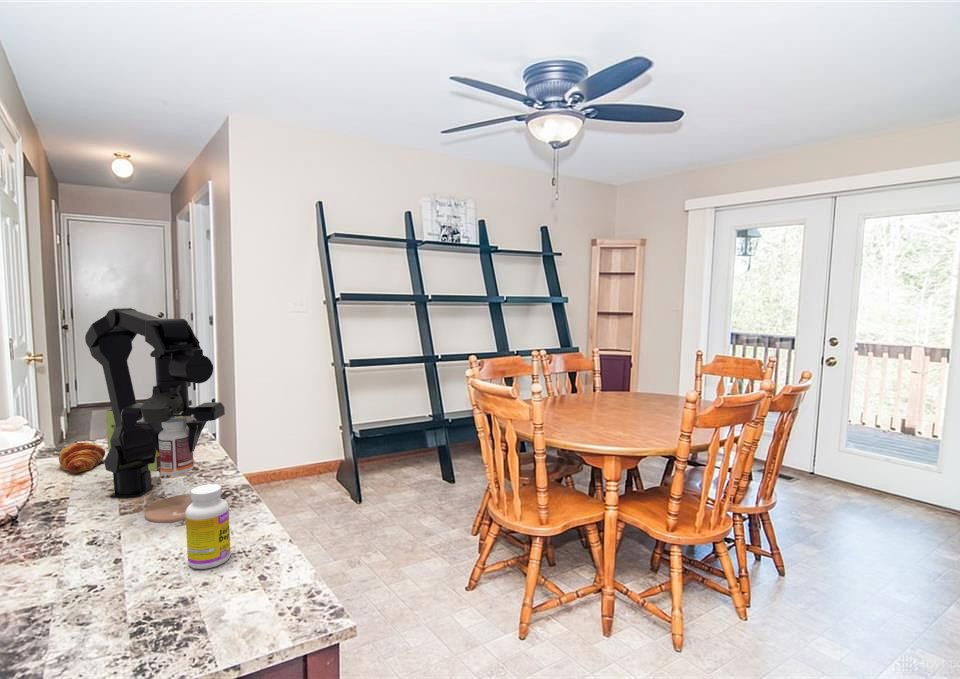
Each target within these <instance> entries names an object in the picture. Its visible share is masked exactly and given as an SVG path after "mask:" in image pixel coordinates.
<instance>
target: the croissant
mask: <svg viewBox="0 0 960 679" xmlns="http://www.w3.org/2000/svg"><path fill="white" fill-rule="evenodd" d="M105 455H106V450H105V449H104V448H103V447H102V446H100V445H99V444H96V443H92V442H91V443H90V442H85V441H84V442H83V441H82V442H81V441H80V442H76V443H73V444H70V445H68V446H67V447H64V448H63V449H61V451H60V453H59V456H58V462H59V464H60V467H61V469H62V470H64V471H67V472H69V473H73V474H77V473H81V472H82V473H83V472H87V471H90V470H92V469H93V468H95V467H97V466H98V465H99V464H100V461H102V460H103V459H104V457H106V456H105ZM94 466H95V467H94ZM89 469H90V470H89Z"/></svg>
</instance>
